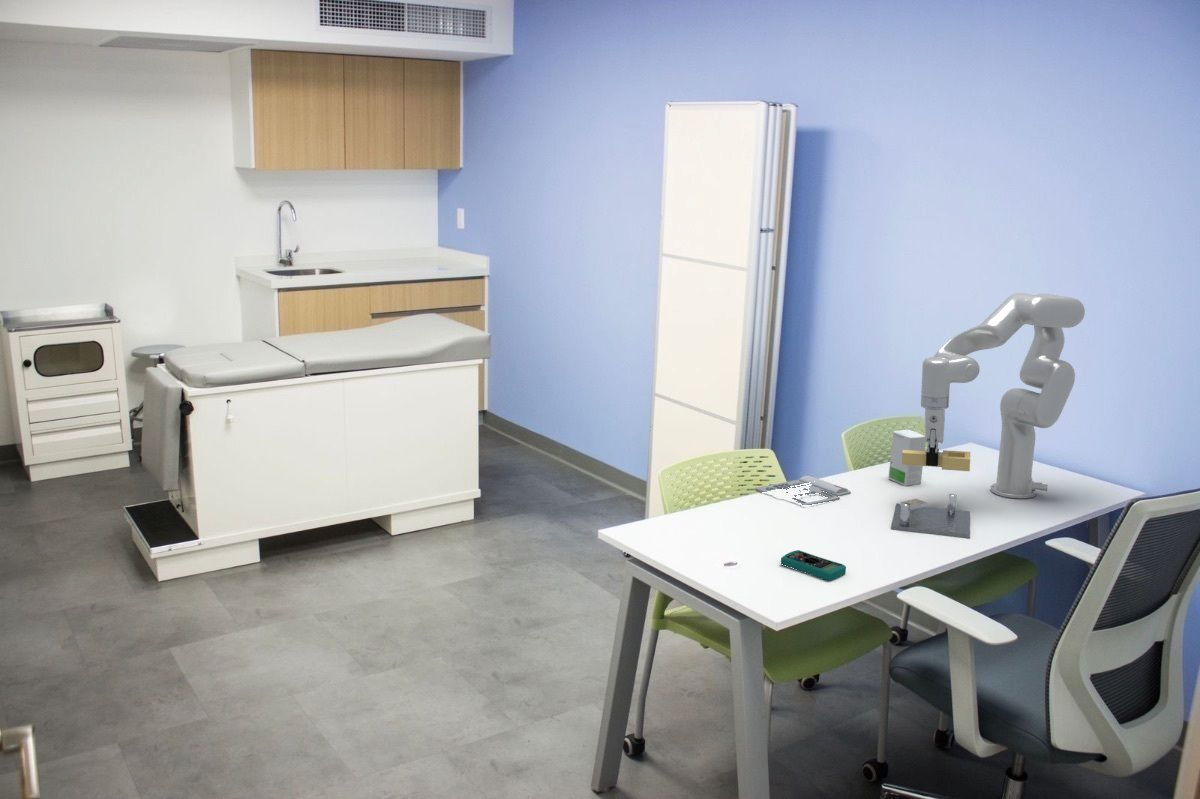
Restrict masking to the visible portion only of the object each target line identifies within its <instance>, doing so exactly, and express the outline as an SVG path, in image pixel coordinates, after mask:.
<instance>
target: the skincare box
mask: <svg viewBox="0 0 1200 799" xmlns="http://www.w3.org/2000/svg"><path fill="white" fill-rule="evenodd" d="M891 439H892V440H891V449H890V461H889V467H888V468H889V469H888V475H887V476H888V480H891V481H893V482H895V483H898V484H899V485H902V486H904V487H909V486H915V485H920V484H921V483H922V477H923V476H922V474H923V467H924V466H917V465H902V452H903V450H913V451H926V443H927V442H926V441H925V434H924V435H923V434H921V433H919V432H917V431H913V430H911V429H901V430H894V431H893V432H892V438H891Z"/></svg>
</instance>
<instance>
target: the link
mask: <svg viewBox="0 0 1200 799" xmlns="http://www.w3.org/2000/svg"><path fill="white" fill-rule="evenodd" d="M926 452H927V450H925V451H913V450H903V452H902V465H917V466H923V467H928V466H927V465H926ZM931 467H932V468H933V467H934V468H935V467H936V468H941V470H943V471H944V470H945V471H957V472H970V470H971V468H970V467H971V451H961V450H960V451H959V450H946V449H945V450H944V449H943V451H941V452H940V451H939V452H938V466H931Z"/></svg>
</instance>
